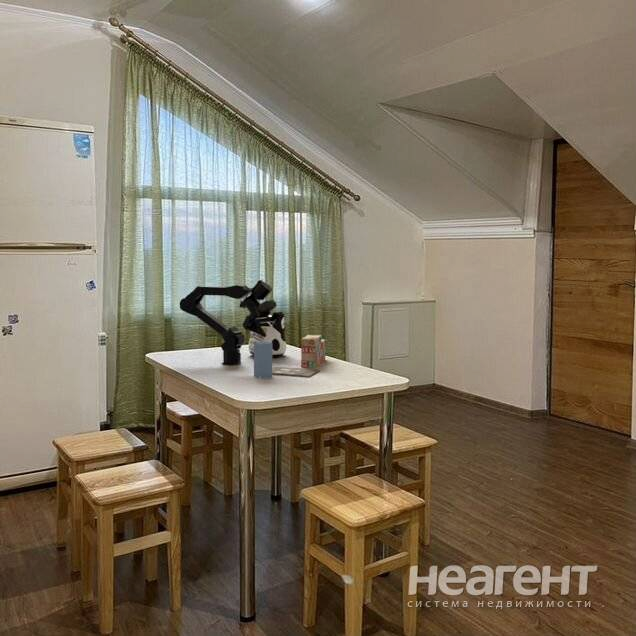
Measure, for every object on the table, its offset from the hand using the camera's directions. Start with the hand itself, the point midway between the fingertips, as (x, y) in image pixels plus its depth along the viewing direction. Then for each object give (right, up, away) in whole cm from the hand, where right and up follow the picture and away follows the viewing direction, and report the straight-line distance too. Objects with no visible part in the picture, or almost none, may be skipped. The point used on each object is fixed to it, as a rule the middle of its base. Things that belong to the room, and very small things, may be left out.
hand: (274, 335), depth 262 cm
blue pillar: (-3, -16, -13) cm, 21 cm away
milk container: (-6, -11, +37) cm, 39 cm away
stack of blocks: (+16, -13, +19) cm, 28 cm away
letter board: (+7, -15, -4) cm, 17 cm away
